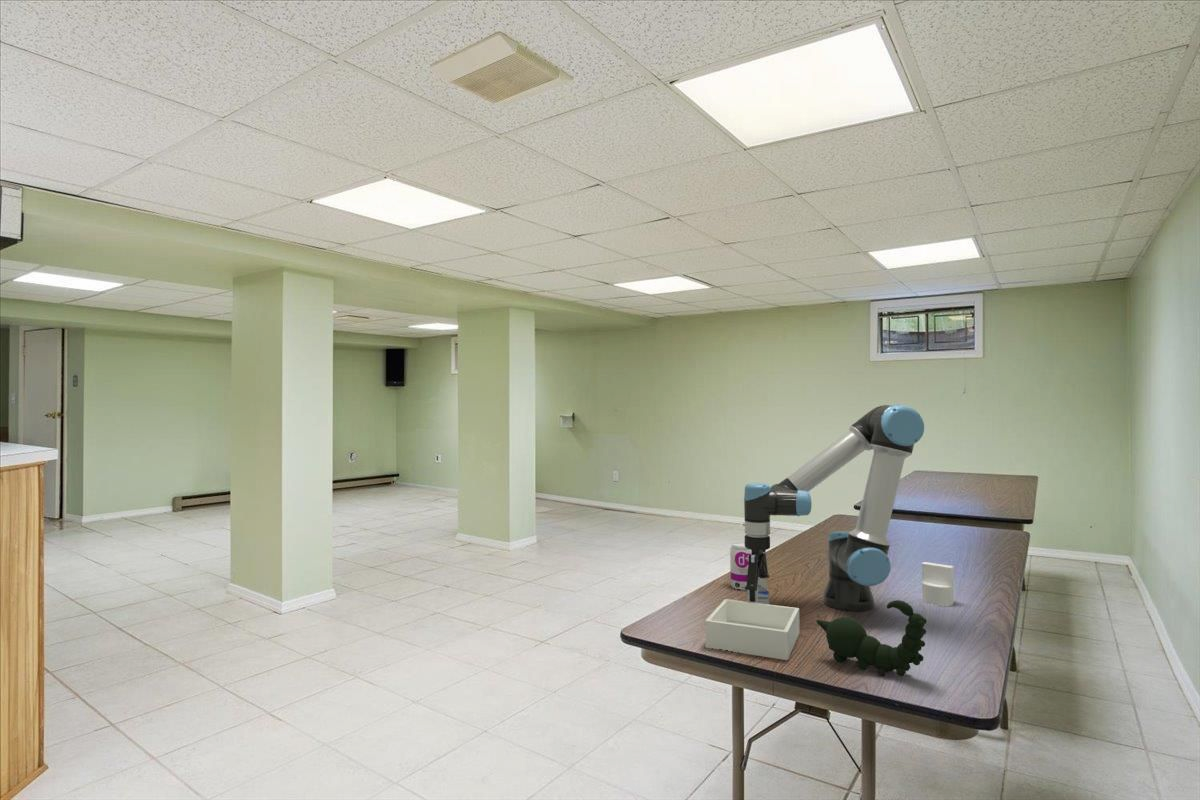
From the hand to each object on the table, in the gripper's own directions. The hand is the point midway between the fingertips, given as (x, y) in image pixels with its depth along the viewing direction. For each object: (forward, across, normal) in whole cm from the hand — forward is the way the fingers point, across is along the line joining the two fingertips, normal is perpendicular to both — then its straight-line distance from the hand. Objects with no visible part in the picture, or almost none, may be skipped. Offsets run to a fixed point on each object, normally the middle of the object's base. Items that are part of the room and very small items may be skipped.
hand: (757, 605), depth 195 cm
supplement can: (+3, -29, -11) cm, 31 cm away
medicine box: (+4, 0, 0) cm, 4 cm away
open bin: (+3, +20, +3) cm, 21 cm away
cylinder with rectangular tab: (+4, -38, +50) cm, 63 cm away
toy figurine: (+4, +28, +32) cm, 43 cm away
